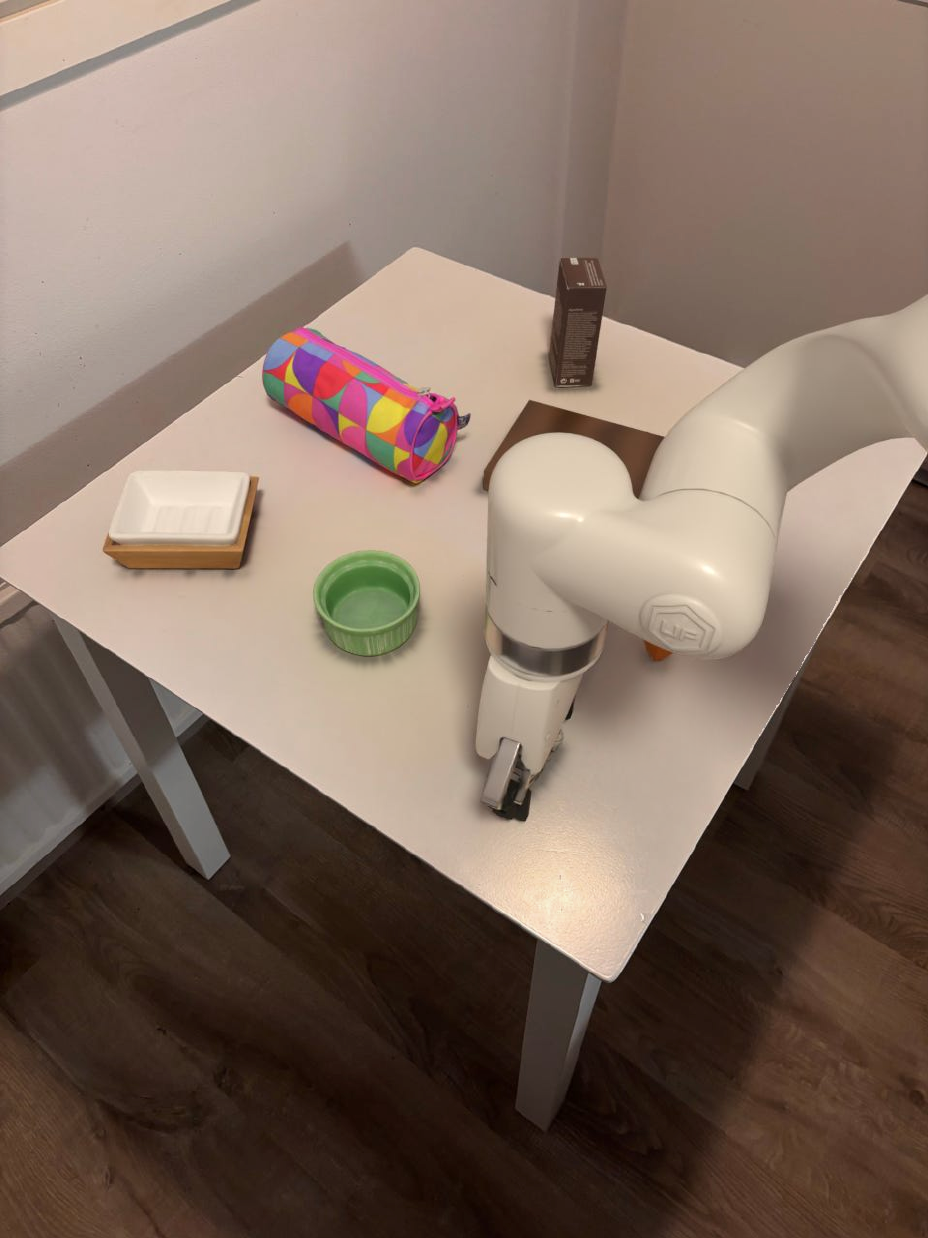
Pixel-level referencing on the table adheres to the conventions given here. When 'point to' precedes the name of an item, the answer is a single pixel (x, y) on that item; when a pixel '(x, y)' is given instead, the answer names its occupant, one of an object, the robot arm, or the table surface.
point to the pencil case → (362, 404)
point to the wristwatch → (558, 741)
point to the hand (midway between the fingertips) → (530, 759)
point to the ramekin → (368, 601)
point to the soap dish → (182, 519)
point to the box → (576, 321)
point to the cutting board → (621, 439)
